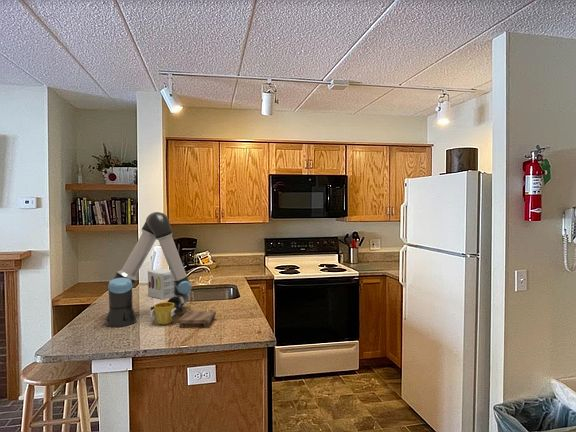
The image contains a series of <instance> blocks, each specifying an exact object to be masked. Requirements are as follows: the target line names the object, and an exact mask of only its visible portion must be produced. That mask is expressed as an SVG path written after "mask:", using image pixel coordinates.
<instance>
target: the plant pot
mask: <svg viewBox="0 0 576 432" xmlns="http://www.w3.org/2000/svg"><path fill="white" fill-rule="evenodd" d="M173 309H174V303H171V302H168V301H167V302H166V301H164V302H158V303H156V304H154V312H155V313H156V314H155V317H156V319H157V324H158V325H168V324H171V323H172V319H173V316H171V311H172V310H173Z"/></svg>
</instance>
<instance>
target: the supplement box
mask: <svg viewBox="0 0 576 432" xmlns="http://www.w3.org/2000/svg"><path fill="white" fill-rule="evenodd" d="M147 295H148V297H149V298H150V297H151V298H155V299H159V300H163V301H164V300H169V299H170V298H172V297H173V296H174V279H173V276H172V274H171V271H170V269H169V268H163V267H162V268H158V269H157V268H156V269H152V270H148V271H147Z"/></svg>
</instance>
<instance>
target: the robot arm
mask: <svg viewBox="0 0 576 432" xmlns="http://www.w3.org/2000/svg"><path fill="white" fill-rule="evenodd" d="M156 240H157V241H158V243H159V246H160V247H161V250H162V253H163V256H164V258H165V260H166V262H167V267H168V269H170V271H171V274H172V276H173V279H174V296H173V297H172V298H168V299H167V302H171V303H174V309H173V310H172V311H171V316H172V317H173V316H174V315H176V314H178V313H183V310H184V308H185V304H187V302H188V301H189V297H190V296H189V293H190V292H191V290H192V284H191V282H190V281H189V278H188V275H187V273H186V269H185V267H184V264H183V263H182V259H181V257H180V254H179V251H178V249H177V246H176V243H175V241H174V239H173V230H172V227H171V222H170V219H169V217H168V216H167V215H166V214H165V213H163V212H159V211H155V212H152V213H150V214H149V215H148V216H147V217H146V219H145V222H144V224H143V225H142V227H141V235H140V236H139V239H138V240H137V242H136V244H135V245H134V247H133V249H132V250H131V252H130V254H129V256H128V258H127V260H126V261H125V262H124V265H123V266H122V269H121V270H117V272H116V273H115V275H114V277H113V279H111V280H109V282H108V285H107V286H108V288H107V289H108V307H109V308H108V313H107V316H106V320H105V325H106V327H111V328H119V327H126V326H130V325H133V324H135V323H137V315H136V313H135V309H134V307H133V288H134V285H135V283H136V282H137V274H138V272H139V271H140V269H141V267H142V266H143V264H144V262H145V260H146V258H147V257H148V255H149V253H150V251H151V250H152V248H153V246H154V244H155V242H156ZM149 313H150V317H153V316H154V315H156V313H155V312H154V306H151V307H150V312H149Z"/></svg>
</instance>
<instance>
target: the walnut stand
mask: <svg viewBox="0 0 576 432" xmlns="http://www.w3.org/2000/svg"><path fill="white" fill-rule="evenodd" d="M216 314H217V312H216V310H215V311H213V310H211V311H207V310H206V311H205V310H204V311H198V310H197V311H196V310H195V311H185V313H184V314H183V315H182V316H181V317H180V318H179V319H177V324H178V325H179V328H185V324H203V325H204V326H203V327H204V328H209V327H210V322H211V321H214V320H216V318H215V317H216Z"/></svg>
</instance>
